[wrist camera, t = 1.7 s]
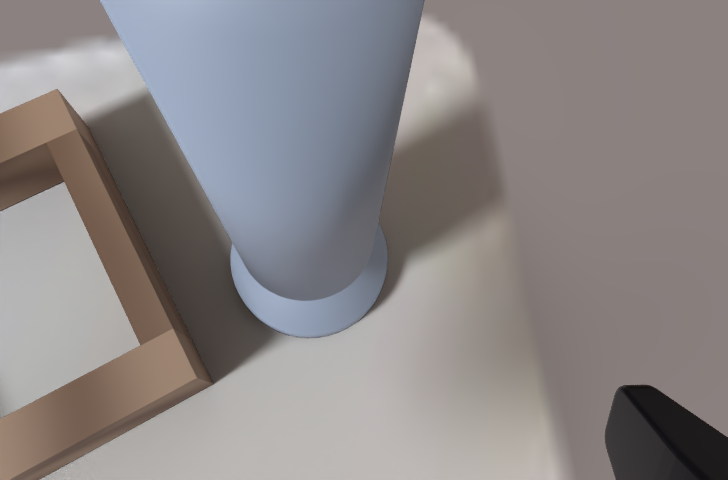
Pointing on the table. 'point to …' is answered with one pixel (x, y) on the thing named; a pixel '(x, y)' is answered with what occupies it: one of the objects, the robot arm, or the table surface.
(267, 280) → the slate peg
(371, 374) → the table surface
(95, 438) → the keyhole block
